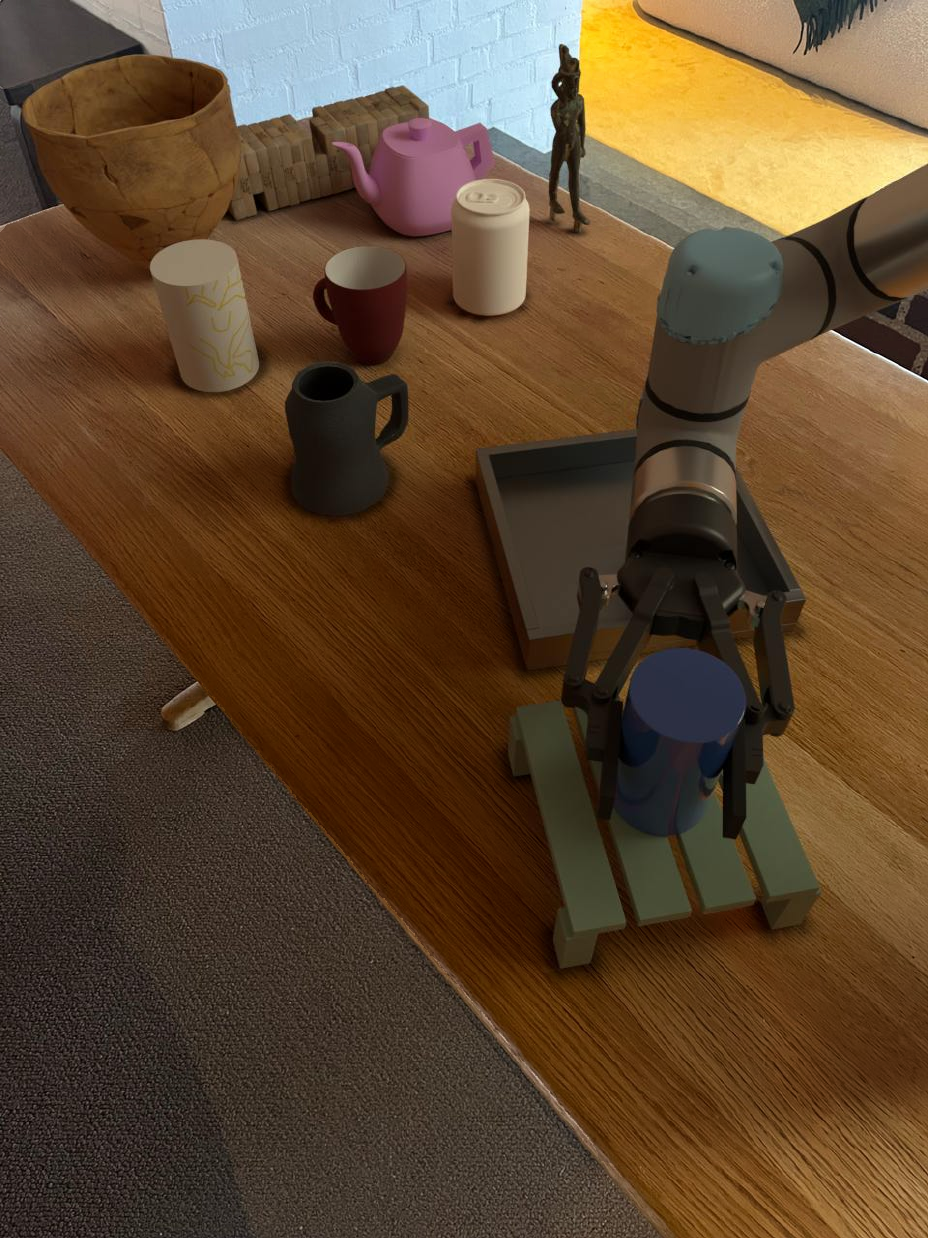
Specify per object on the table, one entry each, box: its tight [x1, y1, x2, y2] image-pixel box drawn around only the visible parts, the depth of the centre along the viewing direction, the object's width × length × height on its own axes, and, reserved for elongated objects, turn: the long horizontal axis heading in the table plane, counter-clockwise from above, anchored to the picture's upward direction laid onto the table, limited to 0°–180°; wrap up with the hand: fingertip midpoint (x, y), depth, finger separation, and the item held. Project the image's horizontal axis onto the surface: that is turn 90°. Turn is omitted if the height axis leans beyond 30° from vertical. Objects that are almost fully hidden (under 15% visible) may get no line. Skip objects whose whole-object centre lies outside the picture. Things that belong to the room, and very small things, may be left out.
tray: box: [475, 428, 807, 672], centre depth 81 cm, size 22×22×4 cm
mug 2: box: [284, 361, 410, 517], centre depth 85 cm, size 12×9×11 cm
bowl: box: [21, 54, 241, 270], centre depth 104 cm, size 21×20×20 cm
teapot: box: [332, 118, 496, 237], centre depth 115 cm, size 13×20×11 cm
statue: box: [548, 43, 592, 234], centre depth 109 cm, size 5×6×20 cm
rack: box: [507, 694, 822, 970], centre depth 64 cm, size 16×16×6 cm
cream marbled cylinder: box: [150, 239, 260, 393], centre depth 95 cm, size 8×8×12 cm
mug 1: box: [312, 245, 409, 366], centre depth 98 cm, size 10×8×10 cm
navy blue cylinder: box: [613, 647, 746, 837], centre depth 57 cm, size 6×6×11 cm
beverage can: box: [451, 178, 531, 317], centre depth 103 cm, size 8×8×12 cm
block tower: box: [226, 84, 430, 221], centre depth 122 cm, size 8×8×29 cm
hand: (669, 817), depth 54 cm, fingers closed on navy blue cylinder, 6 cm apart
